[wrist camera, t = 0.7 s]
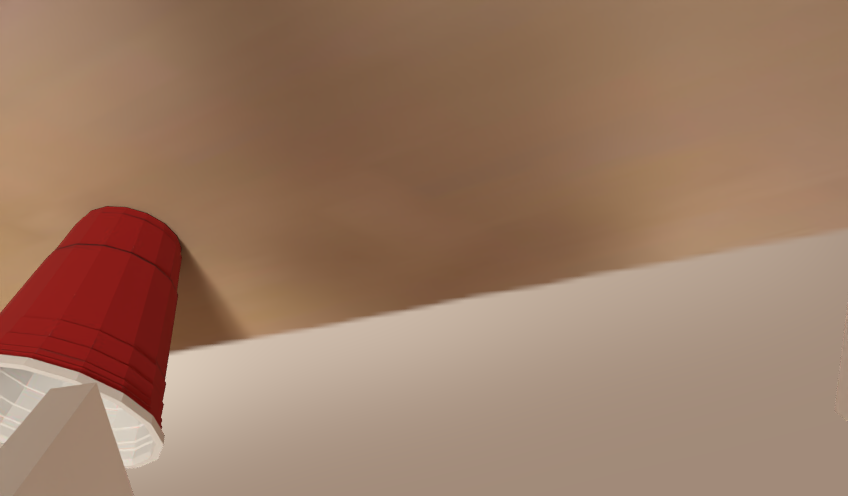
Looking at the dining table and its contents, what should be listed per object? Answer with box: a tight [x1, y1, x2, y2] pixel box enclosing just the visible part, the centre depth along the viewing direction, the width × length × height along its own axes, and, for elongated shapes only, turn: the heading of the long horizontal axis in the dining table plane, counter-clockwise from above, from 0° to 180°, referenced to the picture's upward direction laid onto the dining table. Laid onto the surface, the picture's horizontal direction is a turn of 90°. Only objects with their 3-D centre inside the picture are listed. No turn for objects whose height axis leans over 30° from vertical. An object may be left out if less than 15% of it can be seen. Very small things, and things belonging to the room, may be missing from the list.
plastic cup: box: [0, 206, 182, 469], centre depth 35 cm, size 11×11×12 cm
